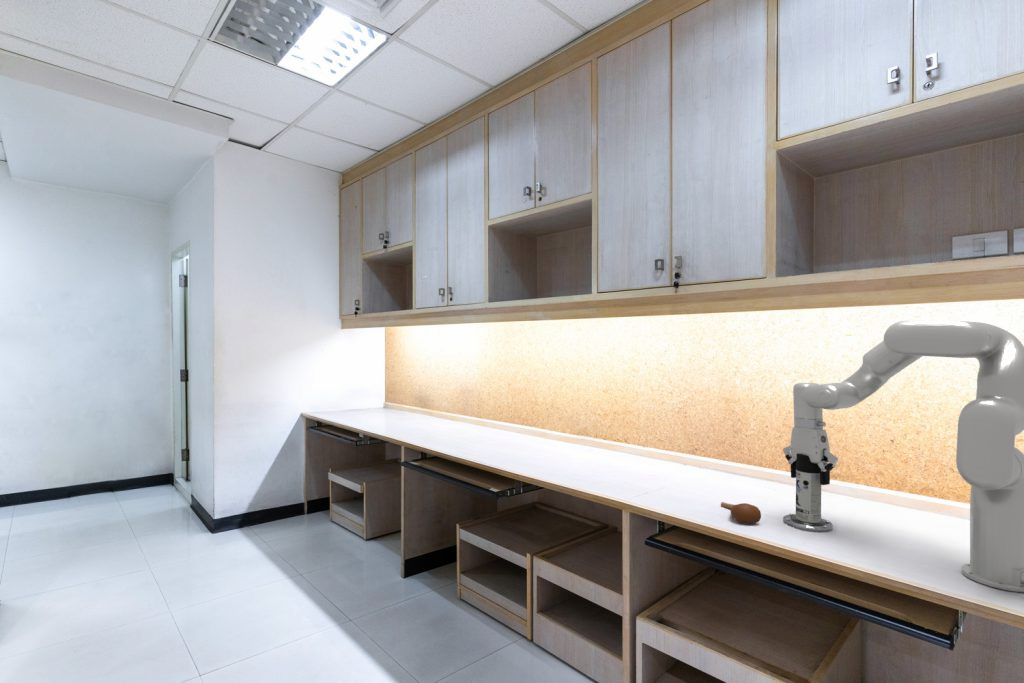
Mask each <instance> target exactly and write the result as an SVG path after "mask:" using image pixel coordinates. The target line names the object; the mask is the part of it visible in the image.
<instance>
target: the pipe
mask: <svg viewBox="0 0 1024 683" xmlns="http://www.w3.org/2000/svg"><path fill="white" fill-rule="evenodd" d="M720 506H721V508H725V509H729V510H730V514H731V516H732V518H734V520H736V522H738V523H741V524H745V525H751V524H756V523H759V522H760V521H761V518H762V514H761V510H760V509H759V507H758V506H756V505H754V504H750V503H743V502H742V503H738V504H731V503H727V502H725V501H724V502H723V501H721V503H720Z"/></svg>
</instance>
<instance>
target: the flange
mask: <svg viewBox="0 0 1024 683" xmlns="http://www.w3.org/2000/svg"><path fill="white" fill-rule="evenodd" d="M782 521H783V524H785V525H786V524H787V525H786V526H788V527H790V526H791V527H790V528H793V527H794V529H796V530H800V531H805V532H810V533H829V532H832V531H833V530H834V524H833V523H832V522H831V521H830V520H827V519H825V518H822V517H821V522H820V523H818V524H809V523H804V522H801V521H799V520H797V519H796V513H789V514H785V515H783V518H782Z"/></svg>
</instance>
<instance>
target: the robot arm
mask: <svg viewBox="0 0 1024 683" xmlns="http://www.w3.org/2000/svg"><path fill="white" fill-rule="evenodd" d="M922 357H935V358H936V357H937V358H938V357H939V358H954V359H957V358H958V359H968V358H969V359H973V358H975V359H976V360H977V361H978V364H979V366H978V372H977V378H976V395H975V399H974V400H971V401H970V402H968V403H967V404H965V405H964V407H963V408H962V409H961V411H960V414H959V417H958V420H957V422H958V423H957V436H956V439H957V440H956V454H955V456H956V457H955V458H956V461H955V462H956V464H955V465H956V469H957V471H958V474H959V476H960V477H961V478H962V480H964V481H965V482H966V483H967V484H969V485H970V486H971V487H970V492H969V493H970V498H969V563H965V564H963V565H961V573H962V574H963V575H964V576H965V577H967V578H968V579H969V580H972V581H975V582H976V583H979V584H982V585H985V586H988V587H992V588H995V589H1000V590H1004V591H1009V592H1016V593H1024V453H1023V452H1022V451H1021V450H1019V449H1018V448H1017V447H1016V446H1015V444H1016V436H1018V435H1020V434H1021V433H1022V432H1023V431H1024V344H1022V342H1021V341H1020V340H1019V339H1018V338H1017V336H1015V335H1014V334H1012V333H1011V332H1010V331H1008V330H1005V329H1004V328H1001V327H1000V326H999V327H998V326H996V325H993V324H990V323H986V322H979V321H966V320H965V321H961V320H960V321H957V320H956V321H955V320H953V321H952V320H951V321H949V320H948V321H937V320H936V321H922V320H921V321H920V320H919V321H915V320H902V321H901V320H900V321H897V322H894V323H893V324H891V325H890V326H889V327H888V328H887V329H886V330H885V332H884V335H883V340H882V341H881V342H880V343H878V344H877V345H876V346H874V347H872V348H871V349H870V350H869V351H866V353H865V354H864V355H862V364H861V365H860V367H859V369H857V370H856V371H855V372H853V374H851V375H850V376H849V377H847V378H845V379H844V380H843V381H841V382H832V383H831V382H830V383H823V384H818V383H814V382H797V383H795V384H794V385H793V390H792V393H793V398H792V399H793V427H792V430H791V433H790V434H791V436H790V445H788V446H786V447H783V448H782V450H783V453H784V456H785V459H786V460H787V461H788V465H790V478H792V479H796V458H797V454H802V455H807V456H809V458H810V460H811V462H812V463H815V464H818V465H819V467H820V468H821V470H822V471H820V484H821V486H826V485H830V484H831V483H830V482H831V474H830V473H831V472H832V470H833V469H834V468H835V467H836V464H837V463H838V461H839V458H838V457H837V456H836V455H834V454H833V453H831V451H830V450H831V449H830V443H829V437H828V433H827V430H826V429H824V427H826V424H827V423H826V422H825V421H824V420H823V416H824V415H823V410H829V411H835V410H840V409H848V408H852V407H855V406H856V405H859V404H860V403H861V402H863V401H864V400H866V399H867V398H869V397H870V396H872V395H873V394H874V393H876V392H877V391H878V390H879V389H881V387H883V386H884V385H885V384H886V383H887V382H888V381H889V380H890V379H892V377H894V376H895V375H897V374H898V373H900V372H901V371H903V370H904V369H905V368H907V367H909V366H910V365H912V364H914V362H916V361H918V360H919V359H921V358H922Z"/></svg>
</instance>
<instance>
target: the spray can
mask: <svg viewBox="0 0 1024 683" xmlns="http://www.w3.org/2000/svg"><path fill="white" fill-rule="evenodd" d="M820 471H822V470H821V468H820V467H819V465H818V464H815V463H812V462H811V460H810V458H809V456H807V455H802V454H797V458H796V478H795V514H796V519H797V520H799V521H801V522H804V523H809V524H818V523H820V522H821V518H822V485H821V484H820Z"/></svg>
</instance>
